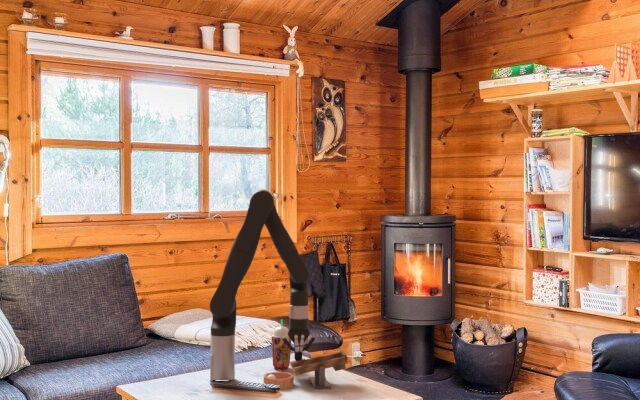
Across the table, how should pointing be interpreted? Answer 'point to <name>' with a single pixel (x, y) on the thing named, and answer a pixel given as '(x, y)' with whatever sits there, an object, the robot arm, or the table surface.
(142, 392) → the table surface
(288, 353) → the smoothie
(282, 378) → the orange bowl
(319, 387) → the stand
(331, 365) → the lever
